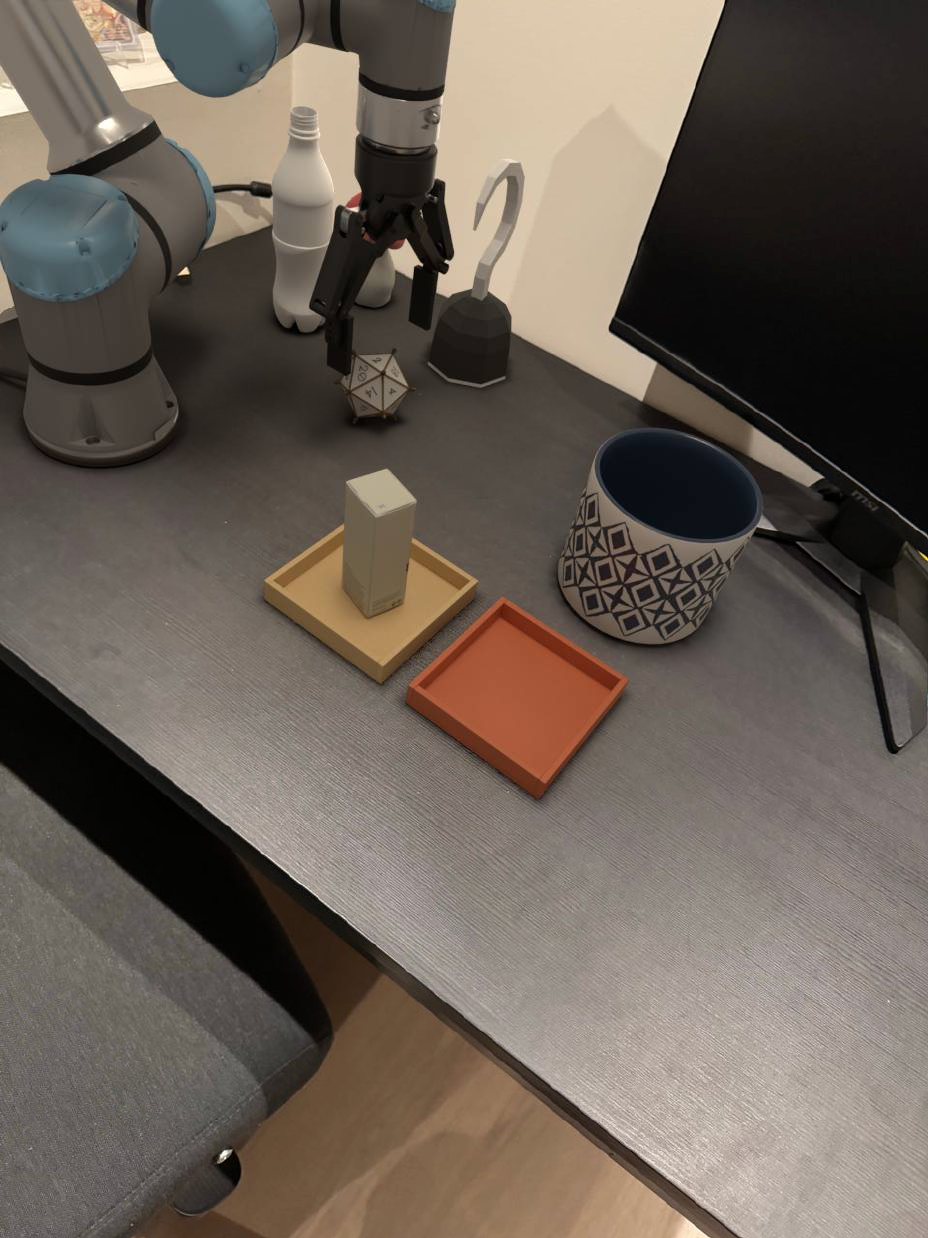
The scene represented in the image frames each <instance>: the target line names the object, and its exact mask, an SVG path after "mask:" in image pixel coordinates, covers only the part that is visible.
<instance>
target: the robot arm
mask: <svg viewBox="0 0 928 1238" xmlns="http://www.w3.org/2000/svg"><path fill="white" fill-rule="evenodd" d="M101 2H103V3H105V4H106V5H108V6H109V7H111V8H112V9H113V10H115V11H117V12H118V13H120V14H121V15H122V16H124V17H125V18H127V19H129V20H130V21H132V22H133V23H134V24H136V25H138V26H139V27H140V28H142V29H143V30H144V31H146V32H148V34H151V36H152V39H153V43H154V45H155V46H154V47H155V49H156V51H157V53H158V56H159V57H160V59H161V61H162V62H164V65H166V67H167V68H168V71H170V73H171V74H172V75H173V78H174V79H175V80H177V81H178V82H179V83H180V85H182V86H183V87H184V88H186V89H188V90H189V91H191V92H193V93H195V94H197V95H200V96H204V97H207V98H213V99H217V98H219V99H220V98H228V97H230V96H234V95H235V94H238V93H239V92H242V91H243V90H245V89H247V88H250V87H254V85H258V83H260V81H262V80H263V79H264V78H265V77H266V76H267V75H268V73H269V71H270V70H271V69H272V68H273V67H275V65H277V64H278V63H279V62H280V61H281V60H283V59H284V58H286V57H288V56H289V55H291V54H292V53H293V52H294V51H295V50H297V49H298V48H299V47H300V46H302V45H303V44H310V45H315V46H319V47H322V48H327V49H332V50H337V51H340V52H345V53H353V54H356V55H358V65H359V67H358V76H357V78H358V79H357V94H356V95H357V96H356V112H355V126H356V131H357V132H358V134H357V135H356V136H355V142H354V143H355V146H354V164H353V165H354V166H353V167H354V168H353V174H354V177H355V179H356V182H357V183H358V186H359V188H360V192H361V197H360V201H359V204H358V207H354V208H350V209H349V208H347V207H345V206H346V205H344V204H338V205H337V206H336V207H335V210H334V215H333V217H334V218H333V224H332V235H331V238H330V241H329V244H328V247H327V251H326V254H325V257H324V260H323V263H322V266H321V269H320V272H319V275H318V278H317V281H316V284H315V287H314V290H313V293H312V296H311V299H310V303H309V309H310V310H312V311H314V312H315V313H317V314H319V315H321V316H322V317H324V318H325V323H324V341H325V343H326V366H327V367H329V368H331V369H333V370H334V371H336V372H338V373H339V374H341V375H343V376H348V375H349V374H351V361H352V359H353V357H352V356H353V355H352V349H353V339H354V336H353V335H354V322H355V321H354V320H355V319H354V318H355V316H353V315H352V314H350V311H351V309H352V308H353V305H354V304H355V303H356V302H355V300H356V298H357V296H358V294H359V292H360V290H361V288H362V286H363V284H364V282H365V280H366V278H367V276H368V274H369V272H370V270H371V268H372V266H373V264H374V262H375V260H376V259H377V258H380V257H382V256H383V254H384V252H385V251H386V249H387V247H389V246H391V245H393V244H394V243H395V242H396V241H402V240H405V241H407V243H408V244H409V246H410V248H411V249H412V251H413V253H414V254H415V256H416V258H417V260H418V261H419V263H420V264H422V265H420V264H416V265H414V266H413V272H412V282H411V292H410V301H409V302H410V303H409V310H408V322H409V323H411V324H413V325H414V326H416V327H418V328H420V329H422V330H424V331H426V332H427V331H429V330H431V329H432V322H433V315H434V306H435V299H436V294H437V290H438V282H439V274H441V275H447V273H448V272H449V270H450V263H447V262H446V261H448V262H451V261H452V260H453V259H454V257H455V248H454V243H453V237H452V233H451V227H450V223H449V222H450V221H449V217H448V213H447V207H446V202H445V200H446V182H445V180H442V179H440V178H438V177H436V170H437V161H438V153H439V152H438V151H439V150H438V147H437V146H436V143H437V142H438V141H439V139H440V130H441V121H442V120H441V119H442V111H443V110H442V109H443V103H444V93H445V90H446V89H445V87H446V80H447V79H446V78H447V72H448V71H447V70H448V61H449V55H450V47H451V39H452V33H453V24H454V23H453V22H454V16H455V11H456V8H457V0H101ZM79 13H80V12H78V10H77V8H76V6H75V4H74V2H73V1H72V0H0V67H1V69H2V70H3V72H4V74H5V75H6V77H7V79H8V80H9V81H10V83H11V85H12V86H13V88H14V90H15V91H16V93H17V94H18V96H19V97H20V100H21V101H22V103H23V104H24V106H25V107H26V109H27V110H28V112H29V114H30V115H31V117H32V119H33V120H34V121H35V123H36V125H37V126H38V128H39V129H40V131H41V133H42V134H43V136H44V138H45V139H46V141H47V143H48V154H47V162H46V167H45V168H46V170H47V172H48V174H49V175H50V176H49V178H48V179H47V180H43V179H41V178H34V179H32V180H30V181H27V182H25V183H22V184H21V185H19V186H18V187H15V189H13V190H12V191H10V192H9V193H8V195H7V196H5V198H4V199H3V200H2V202H1V203H0V264H1V266H2V267H1V268H2V270H3V273H4V274H5V277H6V280H7V284H8V287H9V291H10V296H11V298H12V302H13V306H14V310H15V314H16V317H17V321H18V325H19V328H20V332H21V335H22V340H23V343H24V347H25V350H26V351H25V352H26V354H27V359H28V362H29V365H28V366H29V367H28V373H27V372H23V371H21V370H20V371H19V370H17V369H12V368H8V367H3V366H0V376H1V377H6V378H9V379H14V380H17V381H21V382H25V383H26V391H25V399H24V403H23V409H22V410H23V411H22V414H23V419H24V422H25V427H26V429H27V433H28V436H29V438H30V440H31V442H32V443H33V444H34V445H35V446H36V447H37V448H38V449H39V450H40V451H41V452H43V453H45V454H46V455H48V456H49V457H52V458H54V459H55V460H58V461H61V462H64V463H66V464H67V463H68V464H70V465H75V466H81V467H90V468H91V467H92V468H96V467H97V468H106V467H108V468H109V467H117V466H123V465H128V464H133V463H136V462H139V461H142V460H145V459H147V458H149V457H152V456H154V455H155V454H157V453H159V452H160V451H162V450H163V449H165V448H166V447H167V446H168V445H169V444H170V443H171V442H172V441H173V439H174V438H175V437H176V435H177V433H178V432H179V431H178V430H179V428H180V420H181V419H180V413H179V411H180V410H179V404H178V399H177V396H176V394H175V393H174V391H173V389H172V387H171V385H170V384H169V382H168V380H167V378H166V376H165V374H164V372H163V371H162V369H161V366H160V365H159V363H158V360H157V359H156V357H155V355H154V351H153V344H152V342H153V341H152V334H151V327H150V320H149V308H150V305H151V304H152V303H153V302H154V301H155V299H157V297H159V295H160V294H161V293H163V291H164V290H166V288H168V286H169V285H171V283H172V282H173V281H174V280H175V279H176V278H177V277H178V276H179V275H180V274H181V272H183V270H184V269H186V268H188V267H189V266H191V265H192V263H194V262H195V261H196V260H197V259H198V258H199V257H200V255H201V254H202V252H203V250H204V249H205V247H206V245H207V243H208V242H209V241H210V239H211V237H212V235H213V232H214V229H215V226H216V220H217V201H216V196H215V192H214V188H213V186H212V182H211V180H210V178H209V176H208V174H207V172H206V170H205V168H204V167H203V165H202V164H201V162H200V161H199V160H198V158H197V157H195V155H194V154H193V153H191V152H190V150H189V149H187V148H186V147H182V146H179V145H178V143H177V141H175V140H173V139H171V138H168V137H165V136H164V135H163V133H162V131H161V129H160V127H159V126H158V123H157V121H156V120H155V118H154V117H153V116H154V115H152V114H151V113H148V112H146V111H144V110H142V109H139V108H137V107H135V106H132V104H130V103H129V102H128V101H127V99H126V97H125V95H124V94H123V91H122V89H121V87H120V86H119V84H118V82H117V81H116V78H115V77H114V75H113V73H112V72H111V69H110V68H109V66H108V65H107V63H106V61H105V59H104V57H103V56H102V54H101V52H100V50H99V48H98V46H97V44H96V42H95V41H94V39H93V37H92V35H91V34H90V31H89V30H88V28H87V26H86V24H85V22H84V20H83V19H82V17H81V16H80V14H79ZM365 233H367V235H368V237H369V238H370V239H371V240H373V241H375V242H376V243H374V244H373V243H371V242H369V241H367V240H365V239H363V237H364V235H365Z"/></svg>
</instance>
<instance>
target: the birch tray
mask: <svg viewBox="0 0 928 1238" xmlns="http://www.w3.org/2000/svg"><path fill="white" fill-rule="evenodd" d="M343 539H344V523H343V524H341V525H340V526H338V527H337V528H335V529H334V530H333V531H331V532H330V533H328V534H327V535H326V536H324V537H323V538H322V539H319V541H317V542H316V543H314V544H313V545H311V546H310V547H309V548H307V549H305V551H303V552H302V553H300V554H299V555H298V556H296V557H295V558H293V559H292V560H290V561H289V562H287V563H286V564H284V565H283V566H282V567H280V568H279V569H278V570H276V571H274V572H273V573H272V574H271V575H270V576H268V577H266V578H265V579H264V580H263V599H264V600H265V601H266V602H267V603H269V604H270V605H272V606H273V607H275V608H276V609H277V610H279V611H280V612H281V613H283V614H284V615H285V616H287V617H288V618H290V619H291V620H292V621H293V622H295V623H296V624H298V625H299V626H300V627H302V628H303V629H305V630H306V631H307V632H308V633H310V634H311V635H312V636H314V637H316V638H317V639H318V640H320V641H321V642H322V643H324V644H325V645H326V646H328V647H329V648H331V649H332V650H334V651H335V652H336V653H337V654H339V656H341V657H343V658H344V659H345V660H347V661H348V662H350V663H351V664H352V665H354V666H355V667H357V669H359V670H361V671H362V672H363V673H364V674H366V675H367V676H369V677H370V678H371V679H373V680H374V681H376V682H377V683H378V684H382V683H383V682H384V681H386V679H388V677H390V676H391V675H392V674H393V673H394V672H396V670H398V669H399V668H400V667H401V666H402V665H403V664H404V663H406V661H407V660H409V659H410V658H411V657H412V656H413V655H414V654H415V653H416V652H417V651H418V650H419V649H421V648H422V647H423V646H424V645H425V644H426V643H427V642H428V641H429V640H431V639H432V638H433V637H434V636H435V635H436V634H437V633H438V632H439V631H441V629H443V628H444V627H445V626H446V625H447V624H448V623H450V621H451V620H453V618H454V617H456V616H457V615H458V614H459V613H460V612H461V611H462V610H464V609H465V608H466V607H467V606H468V605H469V604H470V603H471V602H472V601H473V600H474V599H475V597H476V593H477V589H478V584H479V580H478V579H477V578H475V577H473V576H472V575H471V574H469V573H468V572H466V571H464V570H463V569H461V568H460V567H459V566H457V565H455V564H454V563H452V562H451V561H449V560H448V559H446V558H444V557H443V556H442V555H440V554H438V553H437V552H435V551H434V550H432V549H431V548H429V547H428V546H426V545H425V544H423V543H422V542H420V541H419V540H417V539H416V538H414V537H412V543H411V551H410V559H409V567H408V575H407V584H406V592H405V599H404V602H403V603H401V604H399V605H397V606H395V607H392V608H390V609H388V610H385V611H383V612H381V613H378V614H376V615H373V616H371V617H369V618H368V617H366V616H365V615H364V614H363V612H362V611H361V610H360V609H359V607H358V606H357V605H356V604H355V602H354V601H353V600H352V599H351V597H350V596H349V595H348V593H347V592H346V591H345V589H344V588H343V586H342V563H343Z"/></svg>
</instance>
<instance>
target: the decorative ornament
mask: <svg viewBox="0 0 928 1238" xmlns="http://www.w3.org/2000/svg"><path fill="white" fill-rule="evenodd" d="M360 197H361V191H360V192H358V193H357V194H355V195H354V196H352V197H350V199H349V200H348V201H347V202H346V204H345V205H344V206H345V207H347V208H349V209H350V208H354V207H358V204H359V201H360ZM363 239H365V240H367V241H369V242H371V243H373V244H374V243H376V242H375V241H373V240H371V239H370V238H369V237H368V235H367V233H365V235H364V237H363ZM405 242H406V239H405V240H402V241H396V242H395V243H394V244H393V245H391V246H389V247H387V249H386V251H385V252H384V254H383V256H382V257H380V258H377V259H376V260H375V262H374V264H373V266H372V268H371V270H370V272H369V274H368V276H367V278H366V280H365V282H364V284H363V286H362V288H361V290H360V292H359V294H358V296H357V298H356V300H355V302H354V303H356V304H357V305H360V306H365V307H369V308H379V307H383V306H384V305H386V304H387V303H388V302H389V303H390V302H391V298H392V292H393V288H394V286H395V282H396V270H395V264H394V260H393V257H392V255H391V251H390V250H392V251H393V250H394V251H396V250H400V249H402V248H403V246H404V244H405Z"/></svg>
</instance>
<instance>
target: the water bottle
mask: <svg viewBox="0 0 928 1238" xmlns="http://www.w3.org/2000/svg"><path fill="white" fill-rule="evenodd" d="M289 113H290V114H289V121H290V123H289V124H288V129H287V135H288V136H289V139H288V144H287V147H286V150H285V152H284V153H283V156H282V157H281V159H280V161H279V163H278V165H277V167H276V169H275V171H274V174H273V177H272V181H271V190H270V191H271V193H272V229H271V238H272V242H273V246H274V252H275V262H276V263H275V264H276V265H275V278H274V283H273V287H272V305H273V309H274V313H275V315H276V318H277V320H278V321H279V323H280V324H281V325H282V326H283V328H286V329H290V328H292V327H293V325H294V324H295V323H296V326H297V329H298V330H299V331H300V333H312V332H314V331H316V329H317V328H318V327H321V326H322V327H323V325H325V318H324V317H322V316H321V315H319V314H317V313H315V312H314V311H312V310H310V309H309V303H310V299H311V296H312V293H313V290H314V287H315V284H316V281H317V278H318V275H319V272H320V269H321V266H322V263H323V260H324V257H325V254H326V251H327V247H328V244H329V241H330V238H331V235H332V232H333V223H334V218H333V217H334V200H335V195H336V193H335V186H334V181H333V179H332V176H331V173H330V170H329V168H328V166H327V164H326V162H325V159H324V158H323V157H324V156H323V155H322V153H321V148H320V144H319V140H320V139H321V132H320V126H319V112H318V110H317V109H315V108H313V107H311V106H305V105H295V106H292V107H291V108H290V111H289Z"/></svg>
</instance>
